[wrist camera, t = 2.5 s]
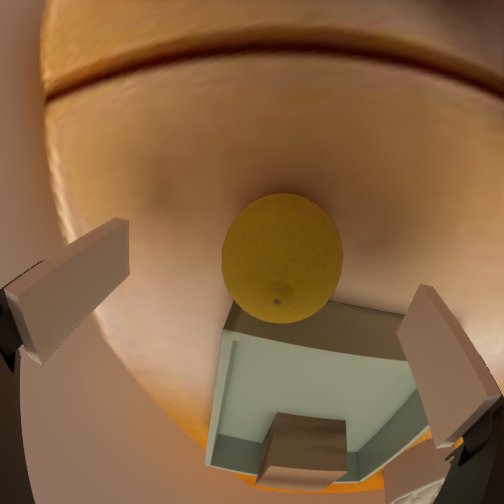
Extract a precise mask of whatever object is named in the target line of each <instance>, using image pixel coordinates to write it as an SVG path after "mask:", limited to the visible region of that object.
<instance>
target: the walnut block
mask: <svg viewBox="0 0 504 504" xmlns="http://www.w3.org/2000/svg"><path fill="white" fill-rule="evenodd" d="M346 472H348V458H347V436H346V420H334V419H324V418H315V417H307V416H300V415H293V414H286V413H280V412H277V414H276V416H275V418H274V420H273V422H272V424H271V426H270V428H269V430H268V432H267V434H266V436H265V438H264V440H263V444H262V450H261V456H260V461H259V467H258V473H257V478H256V483H255V486H262V487H269V488H277V489H286V490H298V491H315V492H320V491H321V490H323V489H324V488H326V487H327V486H329V485H330V484H332V483H333V482H334V481H336V480H337V479H338V478H340V477H341V476H342V475H344V474H345V473H346Z"/></svg>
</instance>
